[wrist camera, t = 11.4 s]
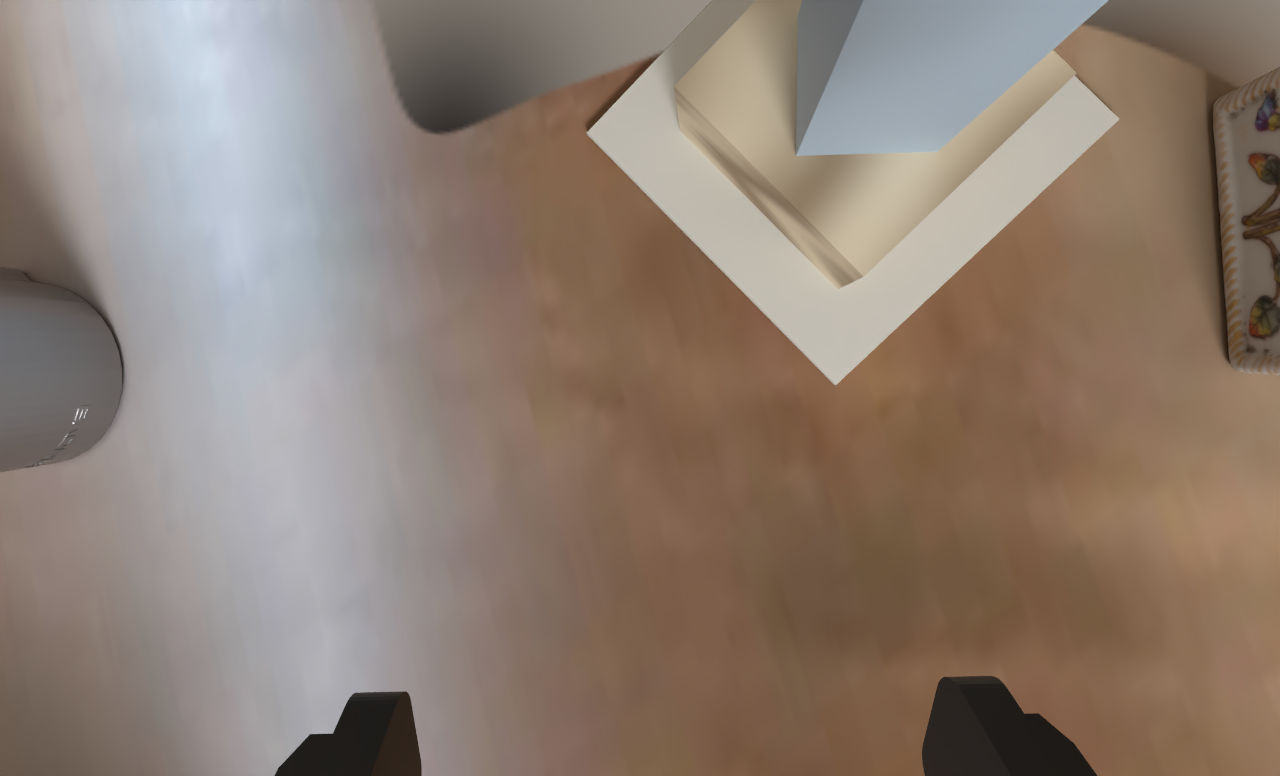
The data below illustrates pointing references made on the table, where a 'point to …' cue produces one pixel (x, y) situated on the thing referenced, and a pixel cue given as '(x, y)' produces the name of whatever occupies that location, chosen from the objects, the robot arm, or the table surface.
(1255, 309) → the decorative jar
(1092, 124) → the pad
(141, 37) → the table surface
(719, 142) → the base block
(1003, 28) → the column block
